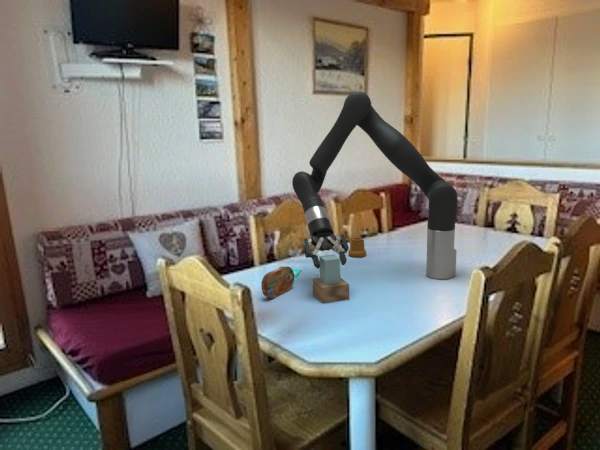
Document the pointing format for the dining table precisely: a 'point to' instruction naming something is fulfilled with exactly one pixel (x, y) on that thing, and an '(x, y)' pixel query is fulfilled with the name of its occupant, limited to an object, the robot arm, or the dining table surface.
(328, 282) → the teal block
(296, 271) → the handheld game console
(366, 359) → the dining table surface
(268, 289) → the tin
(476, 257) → the dining table surface
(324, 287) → the walnut plinth
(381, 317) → the dining table surface
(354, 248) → the ornamental finial
